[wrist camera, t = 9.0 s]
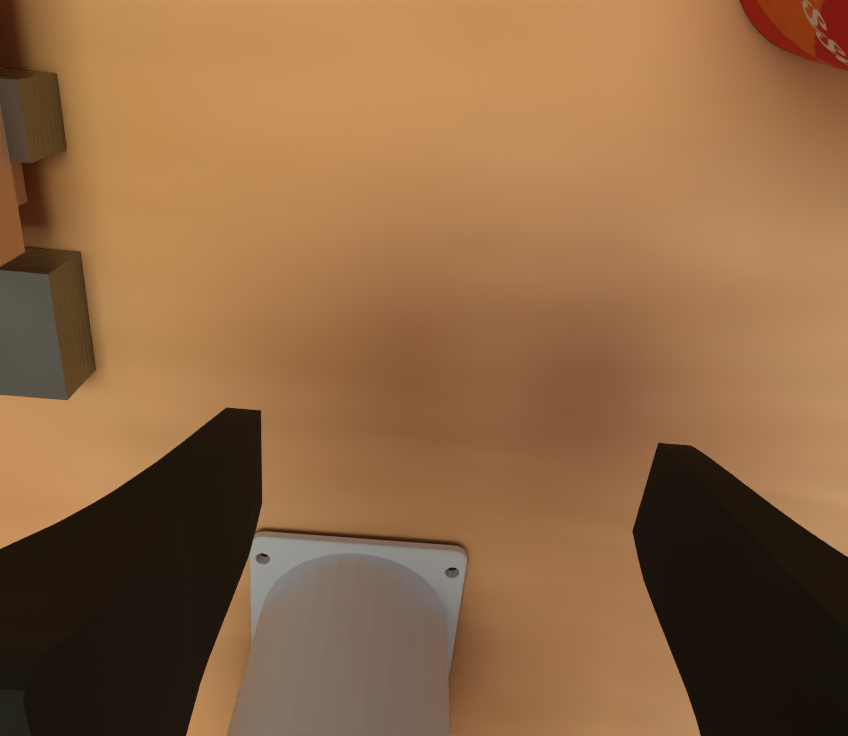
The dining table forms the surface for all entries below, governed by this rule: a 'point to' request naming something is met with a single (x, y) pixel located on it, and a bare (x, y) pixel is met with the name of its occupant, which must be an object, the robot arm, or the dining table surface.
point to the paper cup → (804, 27)
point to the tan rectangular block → (10, 202)
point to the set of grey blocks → (40, 264)
